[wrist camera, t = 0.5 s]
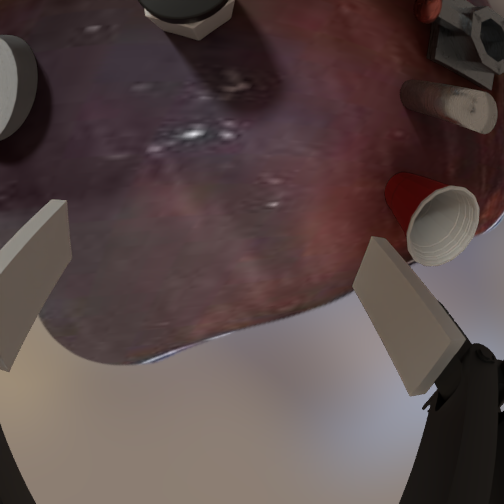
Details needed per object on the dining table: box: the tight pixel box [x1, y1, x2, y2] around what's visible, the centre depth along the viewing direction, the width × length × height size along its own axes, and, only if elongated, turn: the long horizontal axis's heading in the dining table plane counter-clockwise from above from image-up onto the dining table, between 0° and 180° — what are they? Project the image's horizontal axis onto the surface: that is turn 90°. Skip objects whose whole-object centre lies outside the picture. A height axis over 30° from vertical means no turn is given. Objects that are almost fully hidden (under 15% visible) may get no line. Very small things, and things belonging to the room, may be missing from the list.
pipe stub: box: [400, 80, 497, 134], centre depth 29 cm, size 4×4×14 cm
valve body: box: [414, 0, 504, 90], centre depth 26 cm, size 12×16×7 cm
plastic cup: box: [385, 172, 479, 266], centre depth 37 cm, size 11×11×12 cm
